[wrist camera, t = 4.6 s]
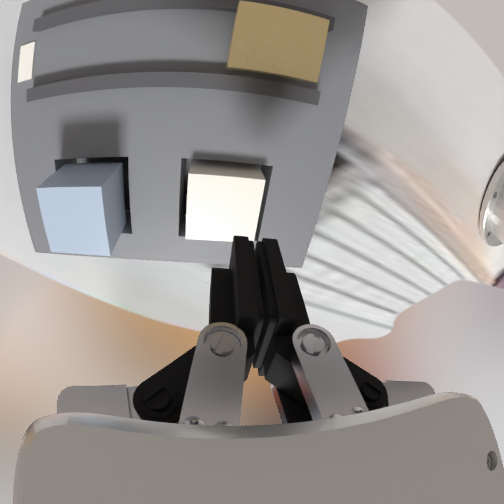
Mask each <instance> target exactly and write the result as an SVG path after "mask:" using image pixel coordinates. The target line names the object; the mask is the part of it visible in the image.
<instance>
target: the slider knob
mask: <svg viewBox="0 0 504 504" xmlns="http://www.w3.org/2000/svg"><path fill="white" fill-rule="evenodd" d="M329 21H330V20H327V19H324V18H321V17H318V16H314V15H311V14H307V13H303V12H299V11H295V10H291V9H287V8H282V7H277V6H272V5H267V4H261V3H255V2H248V1H241V0H240V1H239V4H238V7H237V10H236V13H235V17H234V22H233V27H232V33H231V38H230V44H229V50H228V56H227V62H226V68H225V69H229V70H238V71H246V72H253V73H260V74H266V75H272V76H277V77H283V78H288V79H293V80H297V81H307V82H316V83H318V78H319V73H320V68H321V63H322V58H323V53H324V48H325V43H326V37H327V32H328V27H329Z"/></svg>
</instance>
